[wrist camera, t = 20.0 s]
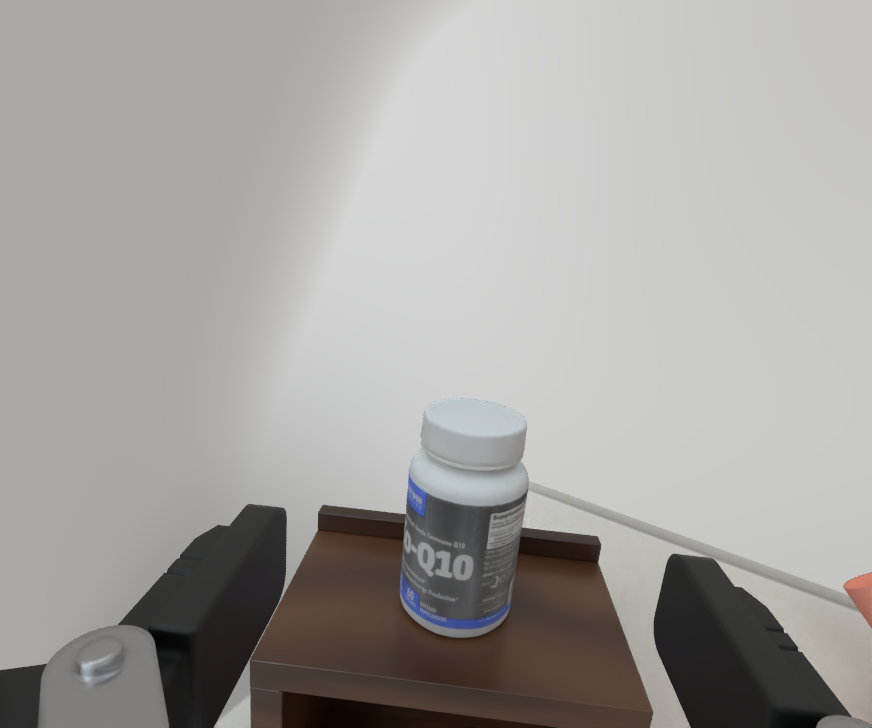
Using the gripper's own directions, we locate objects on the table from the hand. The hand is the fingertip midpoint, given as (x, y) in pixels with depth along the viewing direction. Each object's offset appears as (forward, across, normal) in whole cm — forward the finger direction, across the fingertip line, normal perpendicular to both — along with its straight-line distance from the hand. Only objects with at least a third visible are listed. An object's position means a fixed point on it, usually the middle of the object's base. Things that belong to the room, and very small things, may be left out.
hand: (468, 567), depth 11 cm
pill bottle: (+9, 0, +9) cm, 13 cm away
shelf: (+10, 0, +20) cm, 23 cm away
